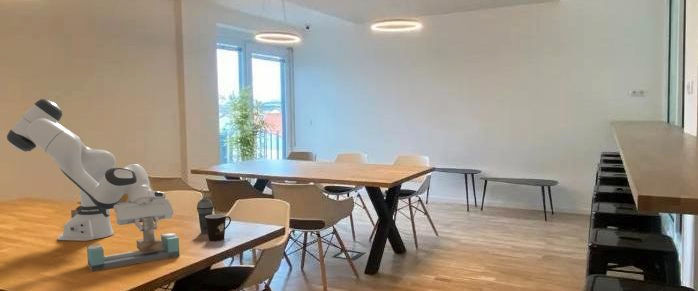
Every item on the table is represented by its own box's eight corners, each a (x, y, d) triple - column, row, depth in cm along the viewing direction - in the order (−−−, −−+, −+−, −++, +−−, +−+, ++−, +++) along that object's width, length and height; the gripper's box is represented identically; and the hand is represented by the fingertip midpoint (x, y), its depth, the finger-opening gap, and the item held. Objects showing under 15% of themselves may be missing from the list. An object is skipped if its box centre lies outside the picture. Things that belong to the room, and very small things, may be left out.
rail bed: (91, 271, 177) (90, 250, 176) (87, 264, 185) (86, 244, 185) (180, 255, 194) (179, 236, 194) (172, 250, 202) (171, 231, 202)
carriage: (142, 252, 187) (140, 221, 186) (136, 247, 194) (135, 217, 193) (162, 249, 191) (160, 218, 190) (156, 244, 198) (154, 215, 197)
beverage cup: (209, 234, 227) (207, 190, 225) (194, 234, 228) (192, 189, 227) (217, 230, 234) (215, 187, 232) (202, 230, 235) (200, 187, 234)
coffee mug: (208, 242, 213) (207, 219, 212) (204, 238, 220) (203, 215, 220) (236, 239, 218) (235, 215, 217) (231, 234, 226) (230, 212, 225)
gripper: (113, 198, 191) (119, 228, 184) (169, 192, 202) (177, 220, 195) (111, 208, 195) (118, 238, 187) (166, 202, 206) (174, 230, 199)
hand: (148, 229), depth 191 cm, fingers closed on carriage, 3 cm apart
